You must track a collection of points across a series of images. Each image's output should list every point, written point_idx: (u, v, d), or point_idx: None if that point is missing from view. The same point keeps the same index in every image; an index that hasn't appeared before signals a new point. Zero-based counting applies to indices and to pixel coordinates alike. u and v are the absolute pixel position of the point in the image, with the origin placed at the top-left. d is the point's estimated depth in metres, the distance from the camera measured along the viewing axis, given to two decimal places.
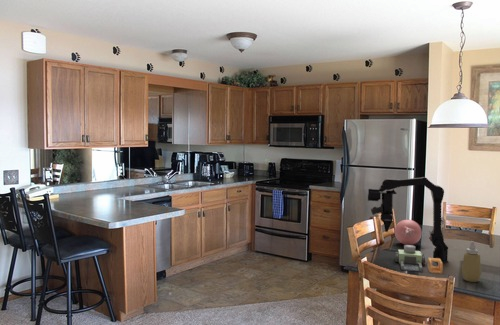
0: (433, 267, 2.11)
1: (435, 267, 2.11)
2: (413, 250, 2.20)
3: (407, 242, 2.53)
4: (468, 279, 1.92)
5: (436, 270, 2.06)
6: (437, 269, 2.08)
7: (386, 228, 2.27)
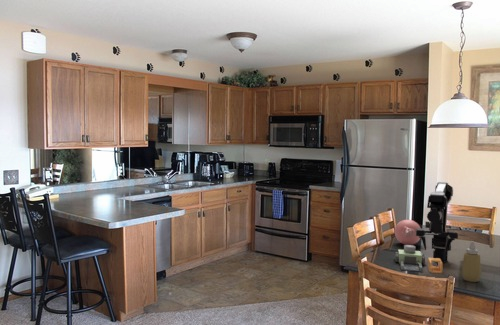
0: (433, 267, 2.11)
1: (435, 267, 2.11)
2: (413, 250, 2.20)
3: (407, 242, 2.53)
4: (468, 279, 1.92)
5: (436, 270, 2.06)
6: (437, 269, 2.08)
7: None
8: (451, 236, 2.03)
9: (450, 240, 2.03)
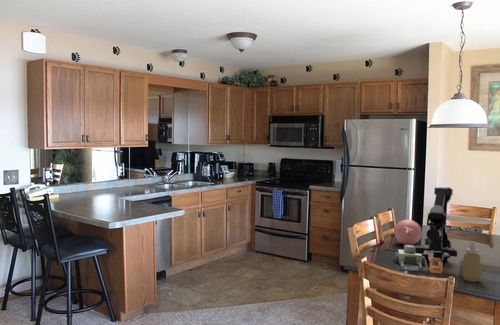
0: (433, 267, 2.11)
1: (435, 267, 2.11)
2: (413, 250, 2.20)
3: (407, 242, 2.53)
4: (468, 279, 1.92)
5: (436, 270, 2.06)
6: (437, 269, 2.08)
7: None
8: (450, 254, 2.03)
9: (446, 257, 2.04)
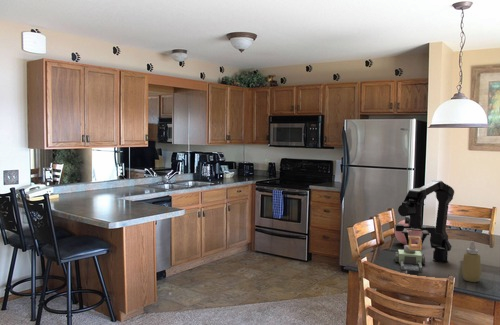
0: (413, 245, 2.14)
1: (415, 245, 2.14)
2: (413, 250, 2.20)
3: None
4: (468, 279, 1.92)
5: (415, 247, 2.09)
6: (416, 246, 2.10)
7: None
8: (429, 231, 2.06)
9: (425, 235, 2.07)
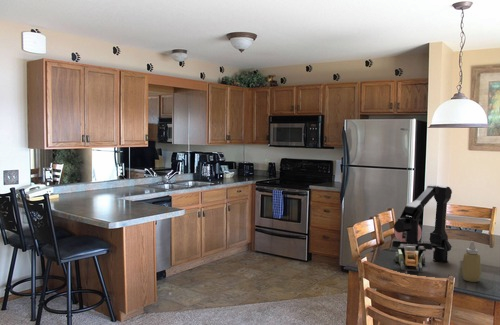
0: (410, 260, 2.15)
1: (412, 260, 2.15)
2: (413, 250, 2.20)
3: None
4: (468, 279, 1.92)
5: (412, 263, 2.10)
6: (413, 262, 2.12)
7: (403, 256, 2.14)
8: (426, 247, 2.07)
9: (421, 251, 2.08)
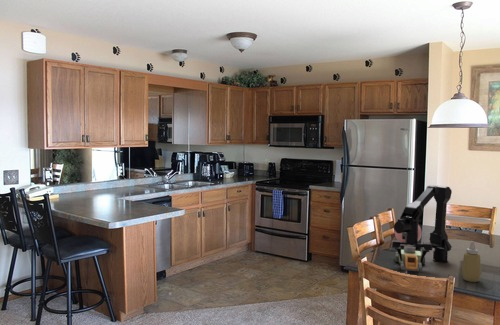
0: (409, 263, 2.15)
1: (411, 263, 2.15)
2: (413, 250, 2.20)
3: None
4: (468, 279, 1.92)
5: (412, 266, 2.10)
6: (413, 265, 2.12)
7: None
8: (426, 248, 2.07)
9: (425, 252, 2.08)
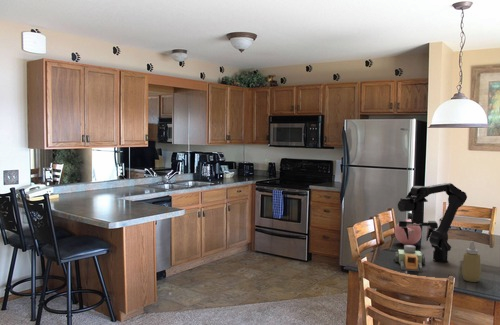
0: (409, 263, 2.15)
1: (411, 263, 2.15)
2: (413, 250, 2.20)
3: (407, 242, 2.53)
4: (468, 279, 1.92)
5: (412, 266, 2.10)
6: (413, 265, 2.12)
7: None
8: (431, 226, 2.15)
9: (431, 230, 2.16)
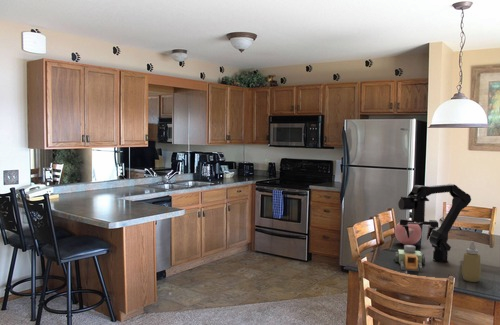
0: (409, 263, 2.15)
1: (411, 263, 2.15)
2: (413, 250, 2.20)
3: (407, 242, 2.53)
4: (468, 279, 1.92)
5: (412, 266, 2.10)
6: (413, 265, 2.12)
7: (407, 234, 2.24)
8: (432, 225, 2.17)
9: (431, 229, 2.18)
